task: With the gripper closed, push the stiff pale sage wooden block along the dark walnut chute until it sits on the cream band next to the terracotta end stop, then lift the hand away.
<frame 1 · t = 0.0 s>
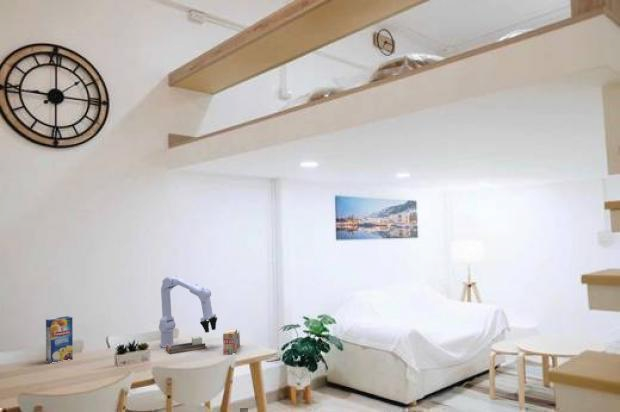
hand: (210, 331, 298), 11 cm above the table, tool pointing down, fingers open, 7 cm apart
blue food box: (59, 360, 280), on the table
chute: (185, 349, 297), on the table
sage block: (197, 341, 301), point 4 cm above the table, slide at 0.0 cm
stack of blocks: (232, 350, 293), on the table
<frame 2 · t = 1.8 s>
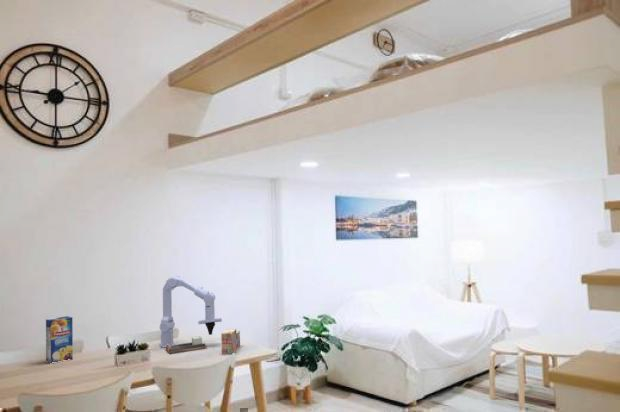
hand: (210, 334, 305), 7 cm above the table, tool pointing down, fingers closed
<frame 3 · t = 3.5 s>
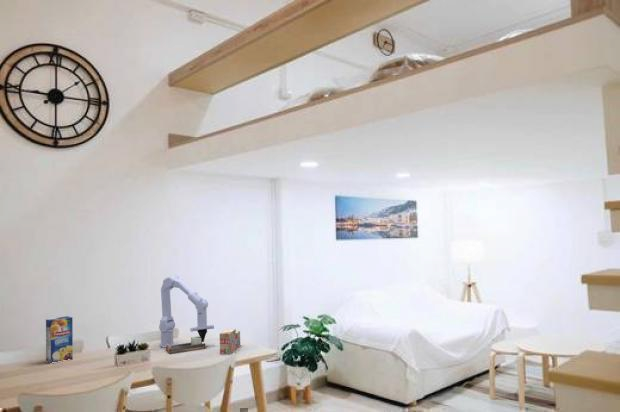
hand: (202, 341, 303), 3 cm above the table, tool pointing down, fingers closed
sage block: (196, 341, 301), point 4 cm above the table, slide at 0.5 cm, touching gripper
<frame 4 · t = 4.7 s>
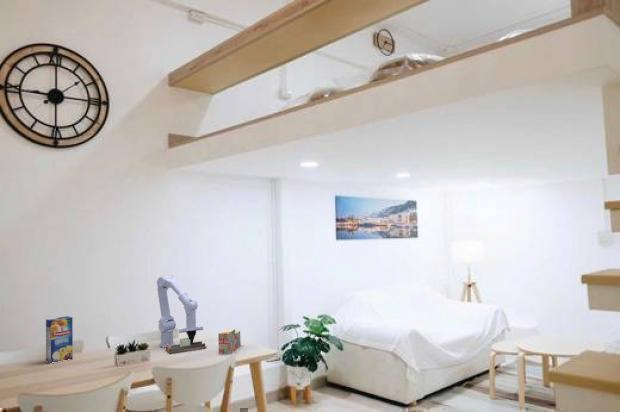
hand: (191, 343, 299), 3 cm above the table, tool pointing down, fingers closed
sage block: (185, 343, 297), point 4 cm above the table, slide at 7.5 cm, touching gripper
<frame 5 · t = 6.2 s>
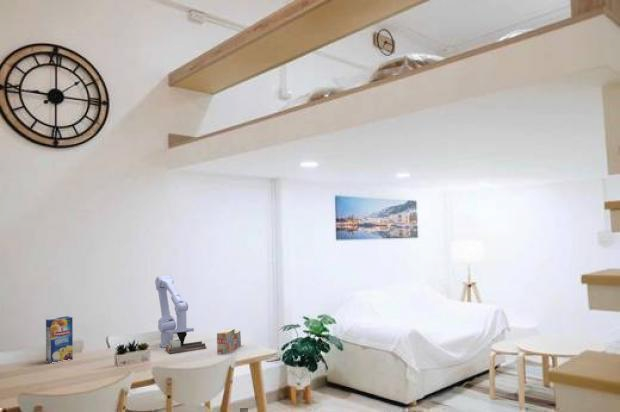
hand: (181, 344, 296), 3 cm above the table, tool pointing down, fingers closed
sage block: (175, 344, 294), point 4 cm above the table, slide at 13.4 cm, touching gripper
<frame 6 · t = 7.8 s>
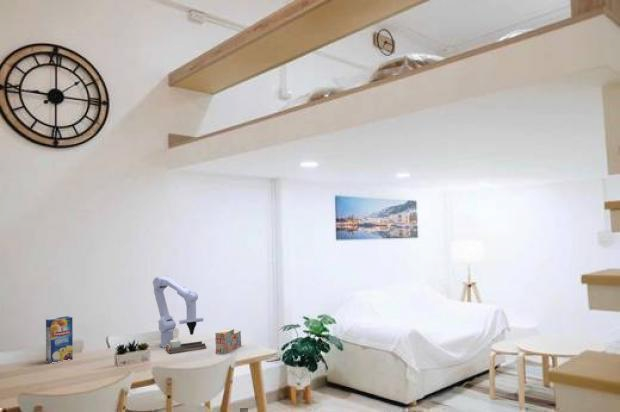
hand: (191, 334, 300), 8 cm above the table, tool pointing down, fingers closed
sage block: (175, 344, 294), point 4 cm above the table, slide at 13.5 cm
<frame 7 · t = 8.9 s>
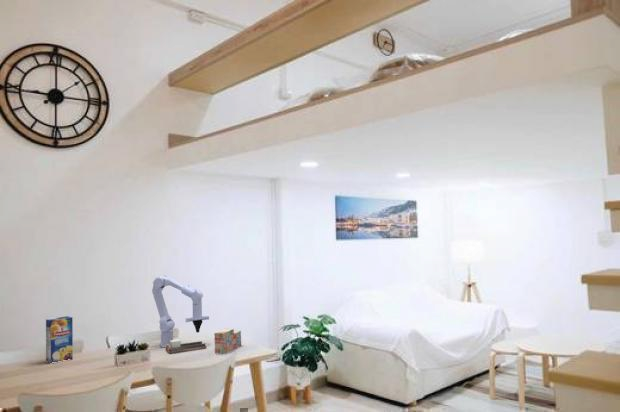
hand: (197, 332, 306), 8 cm above the table, tool pointing down, fingers closed
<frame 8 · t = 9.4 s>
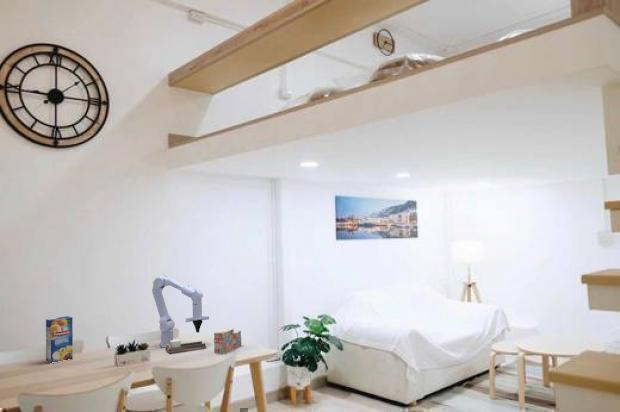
hand: (197, 332, 306), 8 cm above the table, tool pointing down, fingers closed
at the end: sage block slide at 13.5 cm; sage block 0.0 cm from the target spot, resting on chute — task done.
